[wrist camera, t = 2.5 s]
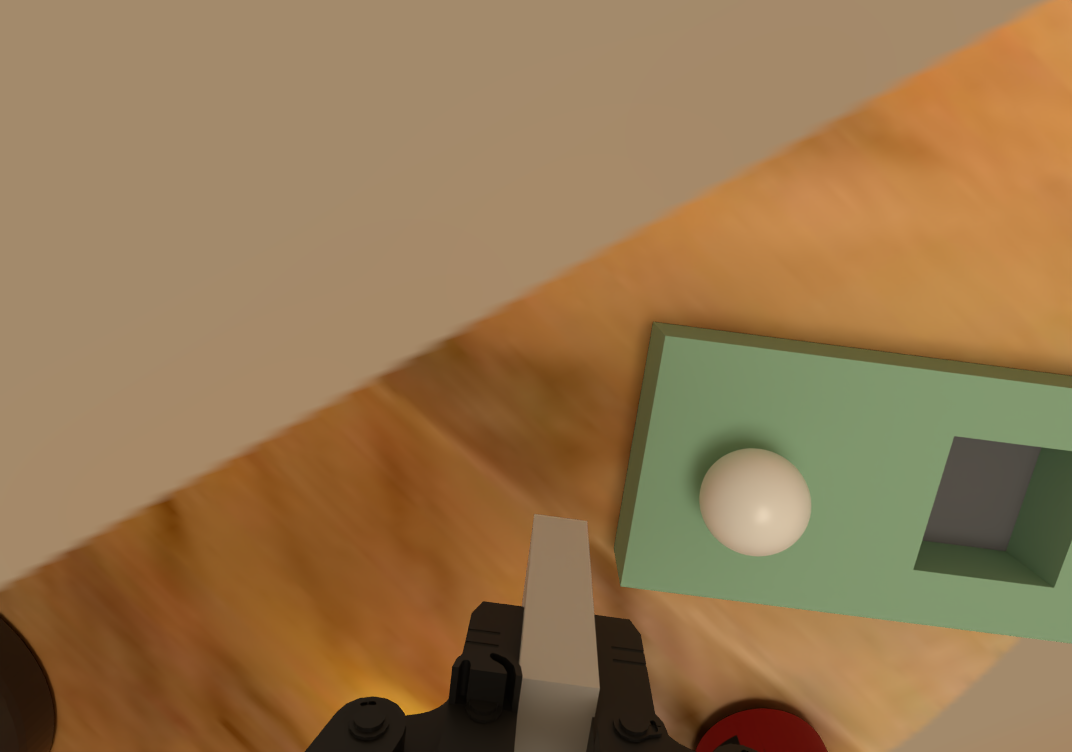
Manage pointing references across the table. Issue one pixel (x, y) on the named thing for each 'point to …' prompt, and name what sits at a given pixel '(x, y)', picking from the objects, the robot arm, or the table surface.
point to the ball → (755, 502)
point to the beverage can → (763, 732)
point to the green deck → (859, 481)
